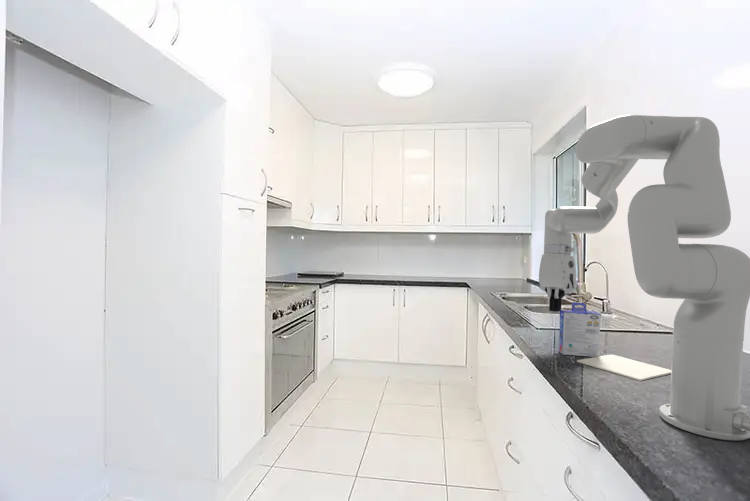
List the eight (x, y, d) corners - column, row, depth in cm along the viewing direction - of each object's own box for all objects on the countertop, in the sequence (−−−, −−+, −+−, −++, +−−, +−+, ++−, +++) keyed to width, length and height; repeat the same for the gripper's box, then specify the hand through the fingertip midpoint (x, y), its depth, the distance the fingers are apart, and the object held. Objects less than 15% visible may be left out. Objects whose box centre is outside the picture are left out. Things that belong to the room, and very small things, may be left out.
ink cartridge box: (593, 352, 117) (595, 303, 117) (600, 358, 112) (602, 306, 112) (557, 350, 119) (559, 301, 119) (562, 355, 114) (564, 303, 113)
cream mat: (674, 372, 101) (674, 371, 101) (639, 381, 94) (640, 379, 94) (611, 355, 115) (611, 354, 115) (577, 361, 108) (577, 360, 108)
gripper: (588, 251, 117) (585, 314, 118) (545, 249, 130) (542, 306, 131) (571, 251, 114) (568, 316, 114) (528, 249, 127) (526, 307, 127)
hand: (555, 310), depth 123 cm, fingers closed
